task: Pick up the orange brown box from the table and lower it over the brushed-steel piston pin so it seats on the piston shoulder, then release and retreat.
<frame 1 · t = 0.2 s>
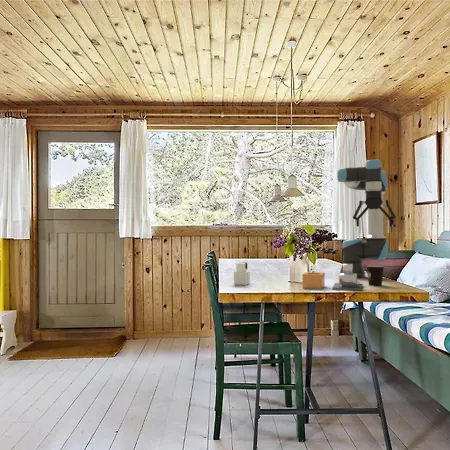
hand: (374, 233, 219), 28 cm above the table, fingers open, 13 cm apart
piston stand: (348, 287, 222), on the table
coffee mug: (374, 285, 232), on the table
orange brown box: (313, 287, 226), on the table
medicine bottle: (242, 284, 239), on the table
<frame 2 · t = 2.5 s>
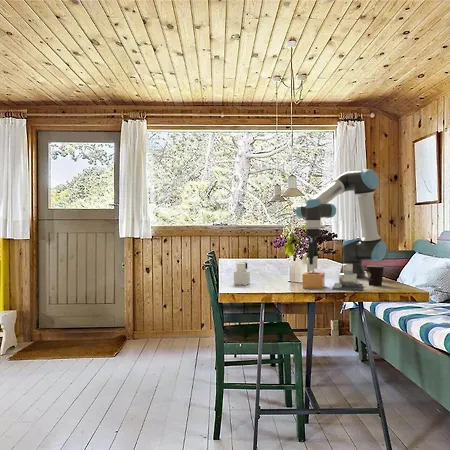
hand: (313, 269, 226), 9 cm above the table, fingers open, 13 cm apart
nothing on the table moved.
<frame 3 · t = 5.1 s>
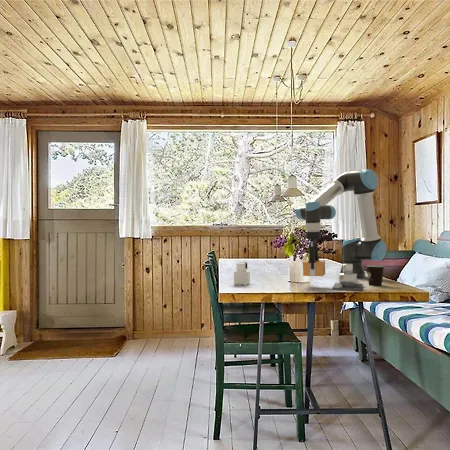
hand: (314, 274, 226), 7 cm above the table, fingers closed on orange brown box, 10 cm apart
orange brown box: (314, 274, 226), point 6 cm above the table, touching gripper
everything else where it was.
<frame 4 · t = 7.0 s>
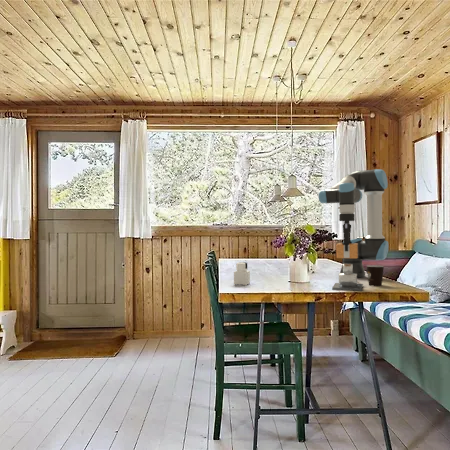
hand: (347, 257, 222), 16 cm above the table, fingers closed on orange brown box, 10 cm apart
orange brown box: (347, 257, 222), point 15 cm above the table, touching gripper
everything else where it was.
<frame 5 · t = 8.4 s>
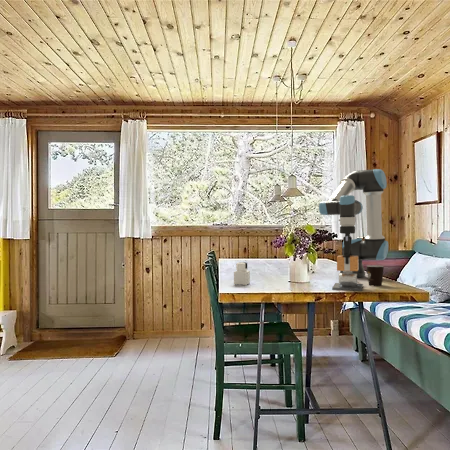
hand: (347, 269, 222), 9 cm above the table, fingers closed on orange brown box, 10 cm apart
orange brown box: (347, 269, 222), point 9 cm above the table, touching gripper
everything else where it was.
when the fingers open (8 cm above the table, at t = 9.2 s): orange brown box stays where it is, resting on piston stand.
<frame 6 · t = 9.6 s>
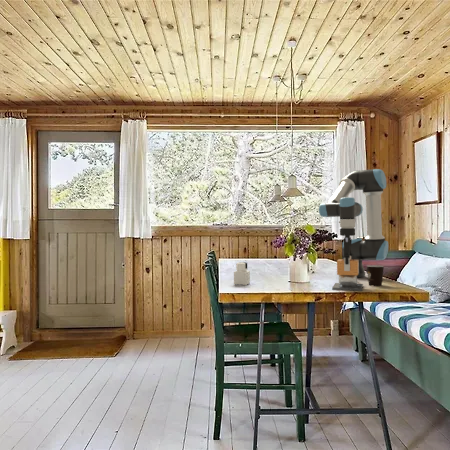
hand: (347, 269, 222), 9 cm above the table, fingers open, 13 cm apart
orange brown box: (348, 273, 222), point 7 cm above the table, touching piston stand
everything else where it was.
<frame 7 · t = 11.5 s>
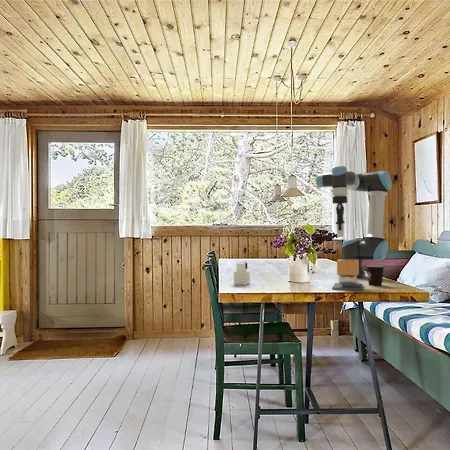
hand: (340, 236, 230), 26 cm above the table, fingers open, 13 cm apart
nothing on the table moved.
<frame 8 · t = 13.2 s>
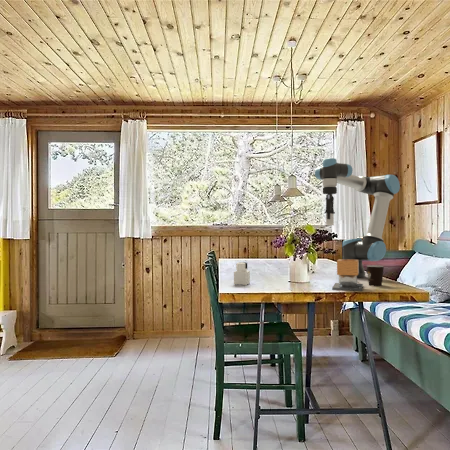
hand: (330, 225, 240), 32 cm above the table, fingers open, 13 cm apart
nothing on the table moved.
at the end: orange brown box 0.1 cm off-centre on the piston stand, point 7.0 cm above the piston stand's base; orange brown box tilted 0°; the gripper is holding nothing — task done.
